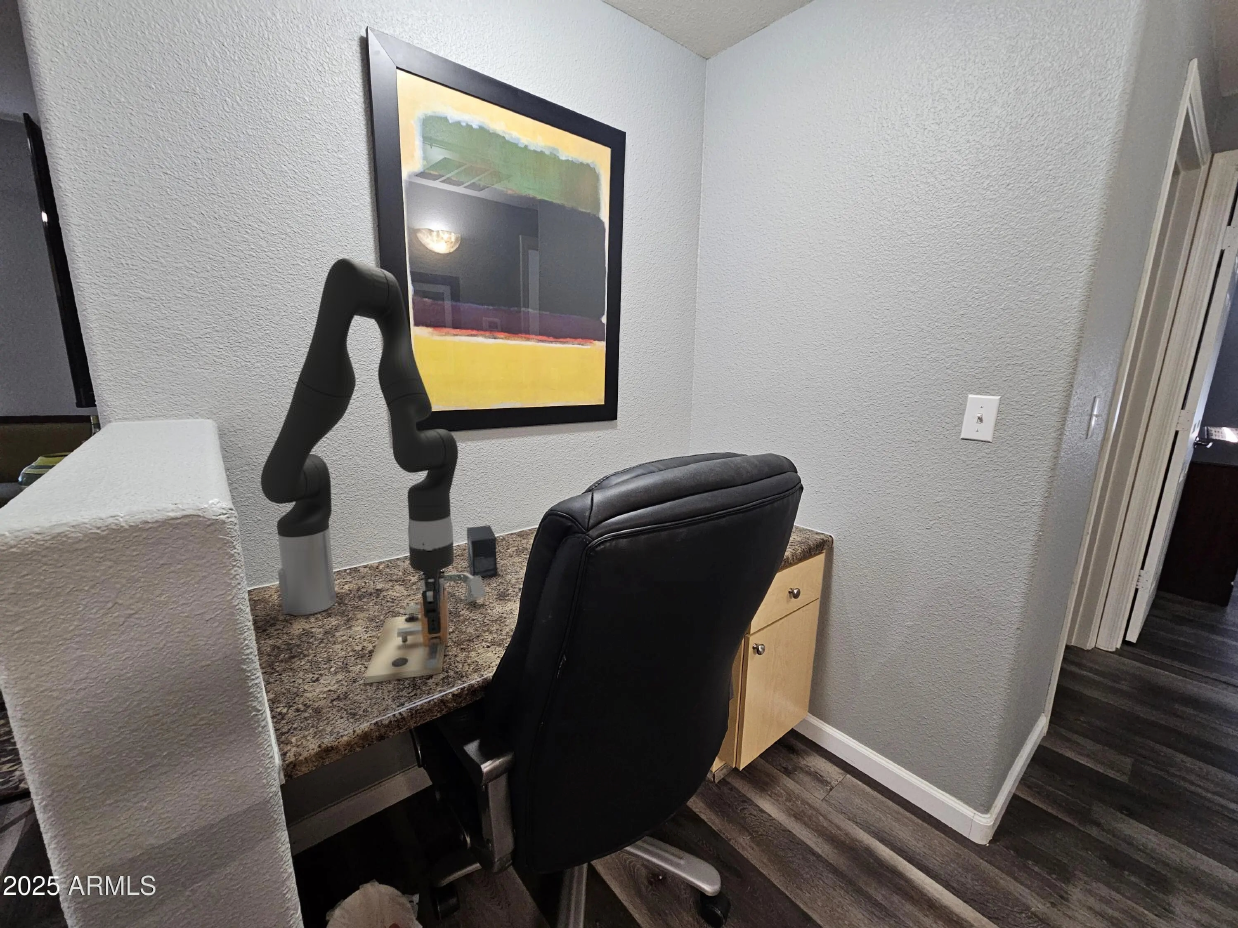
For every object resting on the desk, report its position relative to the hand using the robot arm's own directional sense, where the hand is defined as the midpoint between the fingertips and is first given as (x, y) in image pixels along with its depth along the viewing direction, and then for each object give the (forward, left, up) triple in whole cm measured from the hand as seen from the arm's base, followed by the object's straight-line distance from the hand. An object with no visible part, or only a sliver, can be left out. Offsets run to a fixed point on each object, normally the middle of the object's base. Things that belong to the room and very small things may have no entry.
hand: (435, 626), depth 91 cm
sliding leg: (-2, 0, -3) cm, 3 cm away
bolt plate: (-4, +1, -4) cm, 6 cm away
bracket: (+1, +23, -5) cm, 24 cm away
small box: (+9, +35, -4) cm, 36 cm away
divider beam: (-2, +1, -3) cm, 4 cm away
